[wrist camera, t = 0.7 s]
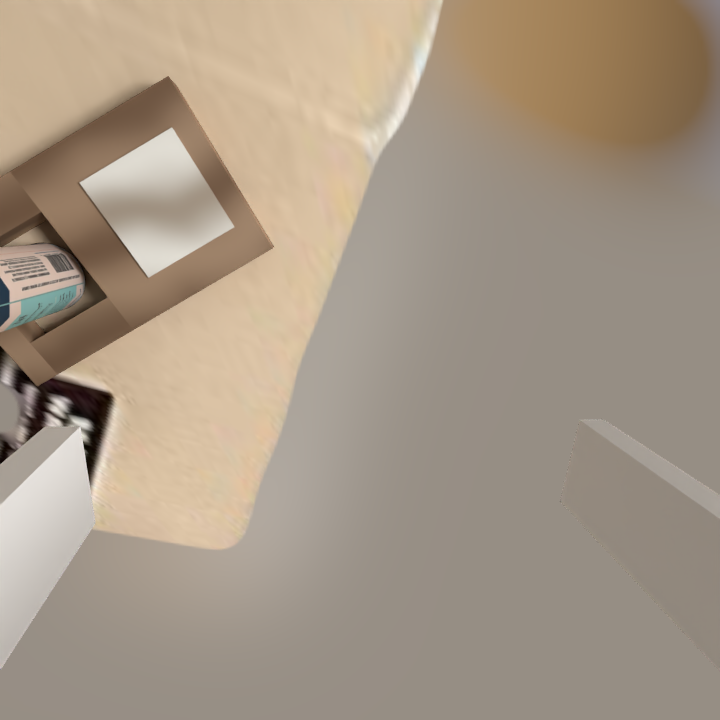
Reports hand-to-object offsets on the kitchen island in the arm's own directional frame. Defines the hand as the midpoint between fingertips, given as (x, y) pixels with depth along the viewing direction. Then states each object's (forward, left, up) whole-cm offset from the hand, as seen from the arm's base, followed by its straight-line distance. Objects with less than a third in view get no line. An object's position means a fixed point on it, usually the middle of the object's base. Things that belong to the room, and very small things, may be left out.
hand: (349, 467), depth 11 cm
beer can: (-11, -15, -25) cm, 31 cm away
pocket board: (-11, -10, -25) cm, 29 cm away
